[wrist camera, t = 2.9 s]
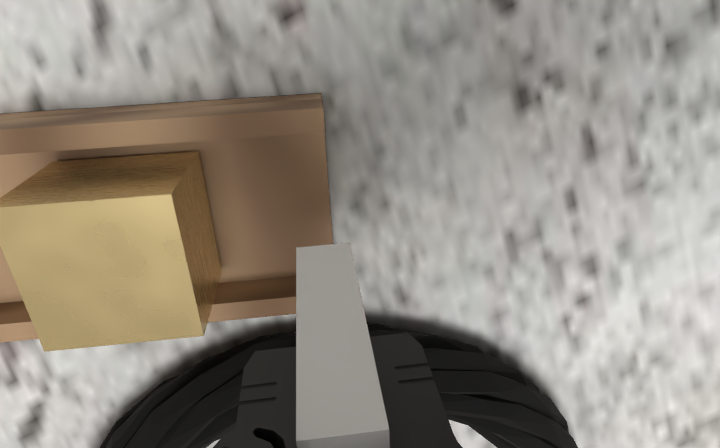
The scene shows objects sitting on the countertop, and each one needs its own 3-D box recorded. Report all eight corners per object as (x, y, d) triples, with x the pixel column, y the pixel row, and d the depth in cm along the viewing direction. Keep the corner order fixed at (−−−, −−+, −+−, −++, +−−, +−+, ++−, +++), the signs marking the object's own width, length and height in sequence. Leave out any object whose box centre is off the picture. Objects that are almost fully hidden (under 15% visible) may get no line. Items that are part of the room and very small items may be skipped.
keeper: (198, 151, 17) (171, 194, 14) (222, 271, 20) (203, 335, 16) (51, 162, 17) (-15, 208, 13) (92, 283, 19) (44, 351, 16)
